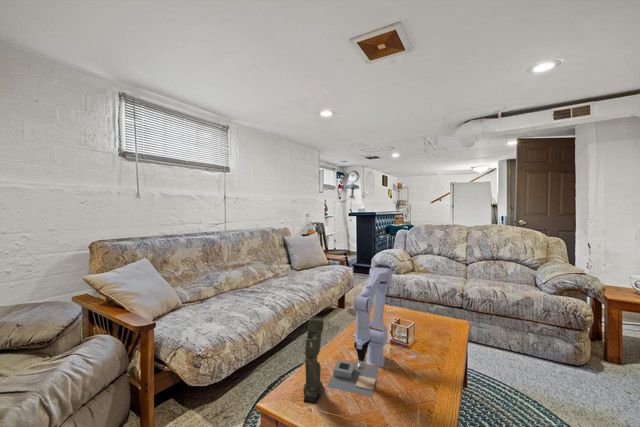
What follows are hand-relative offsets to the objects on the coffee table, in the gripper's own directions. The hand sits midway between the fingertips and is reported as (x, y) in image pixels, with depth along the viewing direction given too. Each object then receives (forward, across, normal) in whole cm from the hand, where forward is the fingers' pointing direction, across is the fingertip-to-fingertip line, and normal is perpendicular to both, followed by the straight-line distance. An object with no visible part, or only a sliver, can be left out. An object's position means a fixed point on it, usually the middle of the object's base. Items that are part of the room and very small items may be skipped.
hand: (362, 358), depth 113 cm
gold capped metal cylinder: (+4, 0, 0) cm, 4 cm away
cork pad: (+10, +1, +2) cm, 10 cm away
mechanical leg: (+11, +13, -17) cm, 24 cm away
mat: (+10, -2, -4) cm, 11 cm away
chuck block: (+10, -3, -8) cm, 13 cm away
